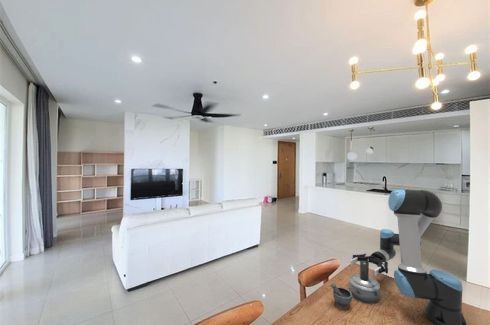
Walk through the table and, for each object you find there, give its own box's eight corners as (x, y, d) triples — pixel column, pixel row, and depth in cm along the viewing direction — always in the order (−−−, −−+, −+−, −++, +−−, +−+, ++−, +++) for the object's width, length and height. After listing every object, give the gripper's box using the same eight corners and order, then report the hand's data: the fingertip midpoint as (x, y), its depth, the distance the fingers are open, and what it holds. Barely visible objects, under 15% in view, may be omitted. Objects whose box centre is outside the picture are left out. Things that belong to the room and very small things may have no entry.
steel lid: (379, 289, 116) (379, 269, 116) (355, 286, 119) (356, 266, 119) (371, 277, 128) (372, 258, 128) (350, 274, 131) (350, 256, 130)
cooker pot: (384, 306, 114) (384, 291, 114) (353, 301, 118) (353, 287, 118) (373, 288, 130) (374, 275, 129) (346, 284, 133) (346, 272, 133)
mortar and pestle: (347, 299, 120) (347, 278, 120) (355, 311, 111) (355, 289, 110) (327, 298, 121) (327, 278, 120) (333, 310, 111) (334, 288, 111)
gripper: (402, 272, 124) (386, 284, 112) (359, 255, 144) (342, 264, 133) (402, 259, 123) (386, 271, 112) (360, 244, 144) (342, 253, 132)
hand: (362, 267), depth 122 cm, fingers open, 13 cm apart
